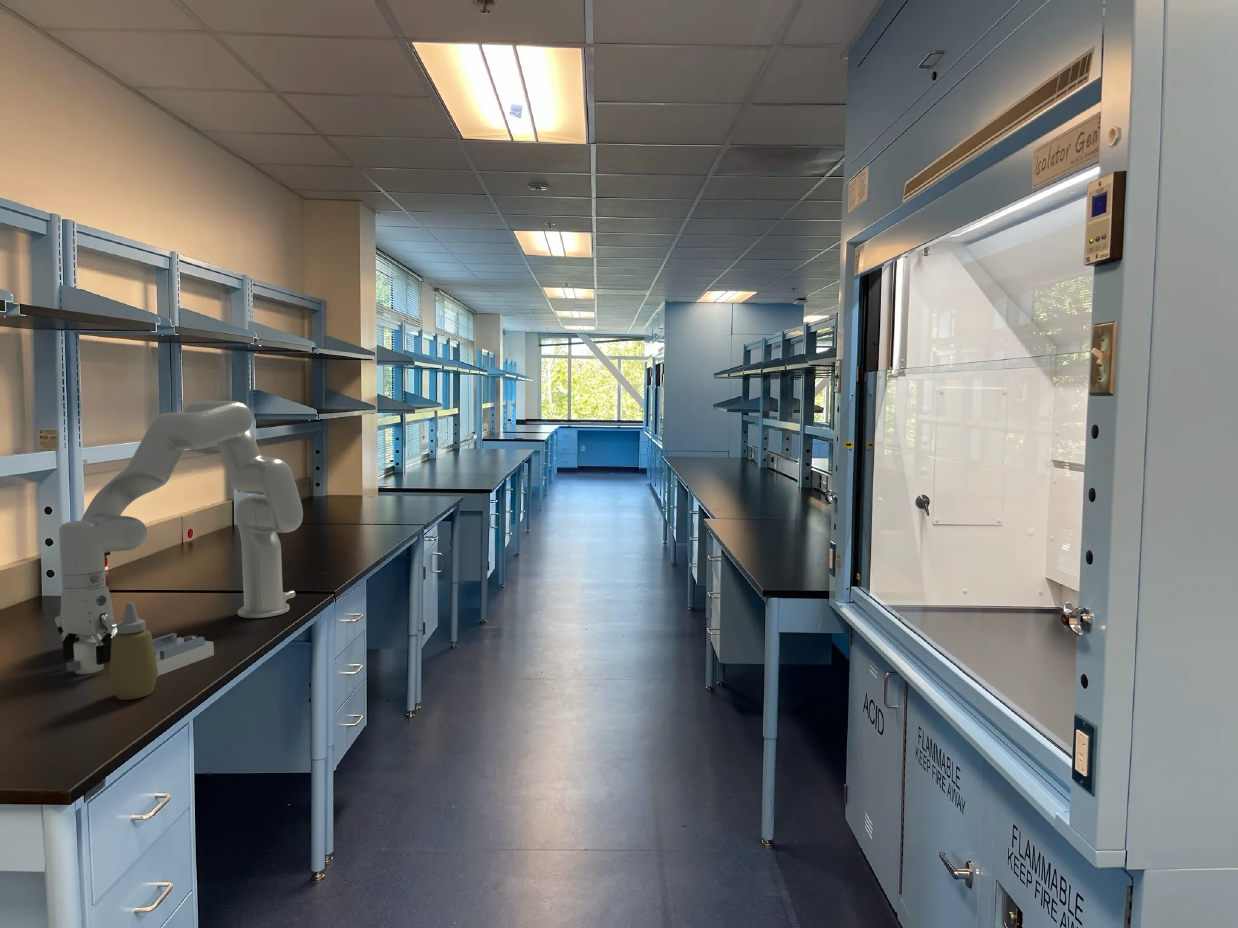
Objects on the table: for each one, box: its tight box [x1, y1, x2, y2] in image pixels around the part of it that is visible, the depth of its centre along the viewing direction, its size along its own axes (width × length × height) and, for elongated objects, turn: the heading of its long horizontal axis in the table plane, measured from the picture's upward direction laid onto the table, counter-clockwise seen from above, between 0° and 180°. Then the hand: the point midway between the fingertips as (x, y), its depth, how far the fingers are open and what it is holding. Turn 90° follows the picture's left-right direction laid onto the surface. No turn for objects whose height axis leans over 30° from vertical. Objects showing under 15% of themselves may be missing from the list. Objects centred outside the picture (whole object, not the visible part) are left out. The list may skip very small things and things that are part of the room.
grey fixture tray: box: [152, 632, 215, 677], centre depth 167 cm, size 14×10×5 cm
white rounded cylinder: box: [66, 639, 105, 675], centre depth 162 cm, size 7×5×6 cm
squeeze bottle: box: [108, 602, 159, 701], centre depth 148 cm, size 8×8×18 cm
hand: (88, 660), depth 163 cm, fingers open, 9 cm apart
